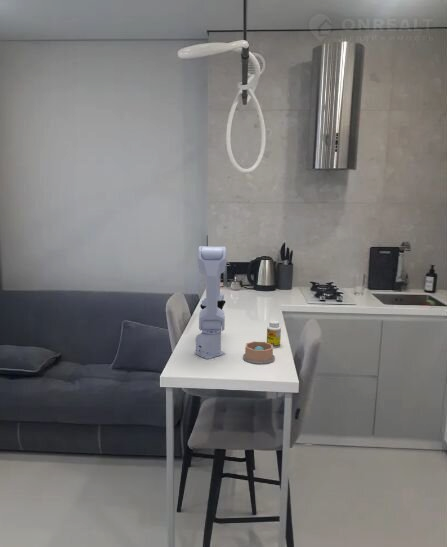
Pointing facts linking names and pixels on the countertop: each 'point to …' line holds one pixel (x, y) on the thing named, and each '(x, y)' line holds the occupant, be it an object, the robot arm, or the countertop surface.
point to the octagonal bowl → (259, 353)
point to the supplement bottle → (274, 333)
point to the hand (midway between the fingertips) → (212, 319)
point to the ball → (258, 348)
